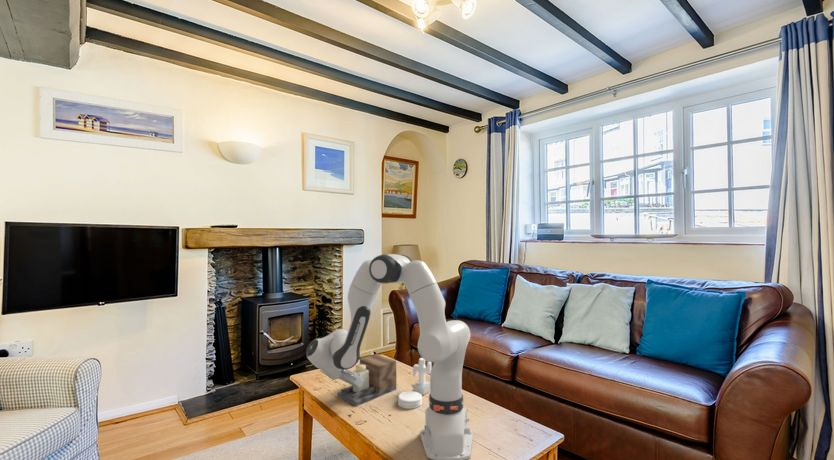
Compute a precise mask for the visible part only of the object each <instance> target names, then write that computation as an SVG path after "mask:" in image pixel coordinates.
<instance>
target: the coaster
mask: <svg viewBox="0 0 834 460" xmlns="http://www.w3.org/2000/svg"><path fill="white" fill-rule="evenodd" d="M397 401H398V402H397V404H398V406H399V407H400V408H402V409H407V410H414V409H418V408H420V407H421V406H422V404H423V395H422V394H420V393H418V392H416V391H415V390H405V391H402V392H400V393H399V394H398V396H397Z"/></svg>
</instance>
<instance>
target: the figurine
mask: <svg viewBox="0 0 834 460" xmlns="http://www.w3.org/2000/svg"><path fill="white" fill-rule="evenodd" d="M431 369H432V362H428V361H426V360H424V359H423V358H422V357H420V358H419V359H418V363H417V364H414V365H413V367H412V373H413V374H412V375H413V377H419V378H418V379H419V380H417V381H415V382H412V383H411V384H410V385H411V387H412V389H413V391H416V392H418V393H420V394H421V395H422V396H424V395H426V394H427V393H430V381H427V380H426V375H430V372H431ZM418 372H419V373H418Z"/></svg>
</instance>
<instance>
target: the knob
mask: <svg viewBox="0 0 834 460" xmlns="http://www.w3.org/2000/svg"><path fill="white" fill-rule="evenodd" d="M352 372H354V373H356V374H357V375H358V376H360V377H361V378H362V379H363V380H364V383H363V385H362V386H361V388H357V387H355V386H353V391H354V392H356V393H358V392H360V391H363V390H365V389H368V388H369V370H366V365H364V364H360V363H359V364H356V365H355V369H354V370H352Z"/></svg>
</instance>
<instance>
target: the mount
mask: <svg viewBox="0 0 834 460" xmlns="http://www.w3.org/2000/svg"><path fill="white" fill-rule="evenodd" d="M359 364H364V365H366V370H369V388H368V389H365V390H363V391H360V392H358V393H356V392H354V391H353V385H350V386H348V387H344V388H341V389H340V391H338V392H336V395H337V397H338V398H340V399H342V400H344V401H345V402H348V403H350V404H351V405H354V406H356V407H358V406H360V405H363V404H365V403H368V402H370V401H373V400H375V399H377V398H380V397H381V396H384V395H386V394H389V393H391V392H394V391H396V390H397V360H396V359H392V358H389V357H387V356H383V355H381V354H378V353H375V354H372V355H369V356H366V357H362V358H359Z"/></svg>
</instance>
